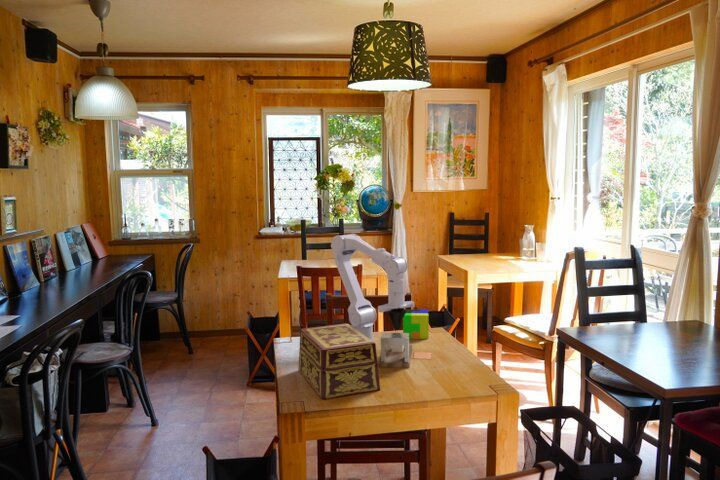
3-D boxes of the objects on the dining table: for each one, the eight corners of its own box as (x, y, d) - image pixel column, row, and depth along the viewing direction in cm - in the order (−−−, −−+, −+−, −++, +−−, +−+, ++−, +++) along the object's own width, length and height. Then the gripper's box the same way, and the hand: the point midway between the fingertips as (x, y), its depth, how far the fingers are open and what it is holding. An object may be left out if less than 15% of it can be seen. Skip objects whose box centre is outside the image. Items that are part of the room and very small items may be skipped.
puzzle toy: (427, 333, 230) (427, 309, 229) (428, 340, 220) (428, 315, 219) (403, 332, 231) (403, 309, 230) (403, 339, 221) (403, 315, 220)
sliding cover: (381, 361, 189) (380, 337, 188) (382, 355, 195) (382, 332, 194) (408, 362, 188) (408, 338, 187) (409, 356, 193) (409, 333, 193)
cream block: (391, 355, 200) (391, 336, 199) (392, 352, 204) (392, 333, 203) (402, 356, 199) (402, 337, 198) (403, 352, 203) (403, 333, 202)
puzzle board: (379, 368, 188) (379, 362, 188) (385, 349, 208) (385, 344, 208) (409, 369, 187) (409, 363, 187) (412, 350, 207) (412, 345, 206)
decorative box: (298, 371, 188) (296, 327, 186) (349, 363, 195) (348, 321, 193) (322, 401, 162) (320, 351, 161) (380, 391, 169) (379, 343, 167)
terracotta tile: (413, 360, 196) (413, 358, 196) (414, 353, 203) (414, 352, 203) (430, 360, 195) (430, 358, 195) (431, 354, 202) (431, 352, 202)
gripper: (385, 296, 190) (386, 335, 191) (419, 291, 197) (419, 328, 199) (374, 292, 196) (375, 330, 197) (407, 288, 203) (408, 324, 205)
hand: (396, 329), depth 198 cm, fingers closed
